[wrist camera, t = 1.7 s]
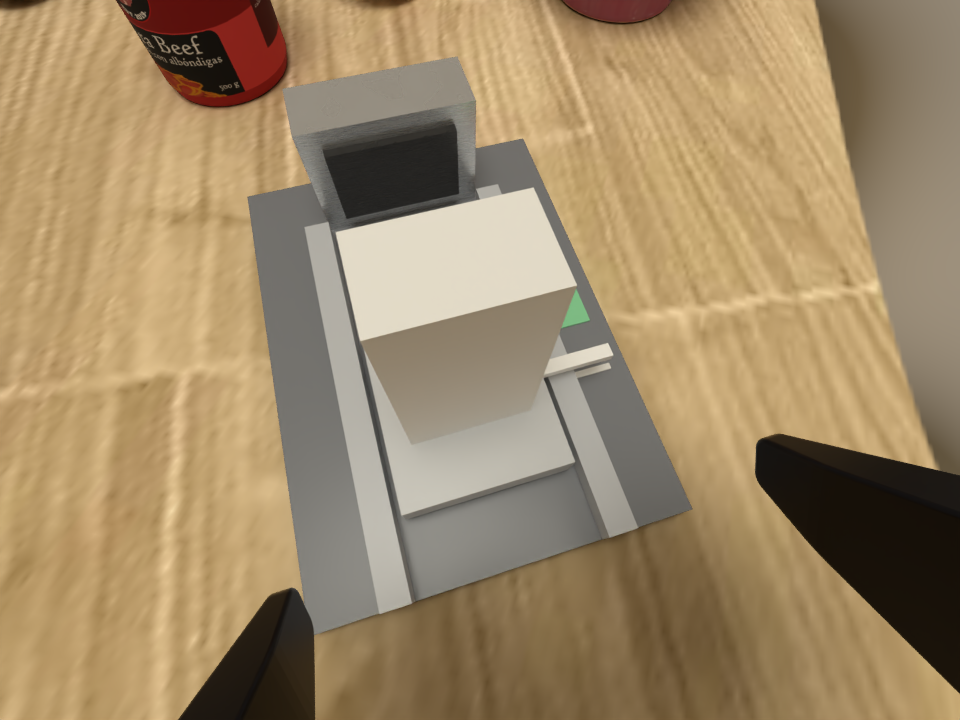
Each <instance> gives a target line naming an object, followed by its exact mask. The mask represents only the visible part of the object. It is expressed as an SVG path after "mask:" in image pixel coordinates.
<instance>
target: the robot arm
mask: <svg viewBox="0 0 960 720" xmlns="http://www.w3.org/2000/svg"><path fill="white" fill-rule="evenodd" d="M755 475H756V478H757V481H758V483H759V484H760V486H761V487H762V488H763V490H764V491H765V492H766V493H767V494H768V495H769V497H770V498H771V499H772V500H773V501H774V503H775V504H776V505H777V506H778V507H779V508H780V510H781V511H782V512H783V513H784V514H785V516H786V517H787V518H788V519H789V520H790V521H791V523H792V524H793V525H794V526H795V527H796V529H797V530H798V531H799V532H800V533H801V534H802V536H803V537H804V538H805V539H806V540H807V541H808V543H809V544H810V545H811V546H812V547H813V548H814V549H815V550H816V551H817V552H818V554H819V555H820V556H821V557H822V558H823V559H824V560H825V561H826V562H827V563H828V564H829V565H830V566H831V567H832V568H833V569H834V570H835V571H836V572H837V573H838V574H839V575H840V576H841V577H842V578H843V579H844V580H845V581H846V582H847V583H848V584H849V585H850V586H851V587H852V588H853V589H854V590H855V591H857V592H858V593H859V594H860V595H861V596H862V597H863V598H864V599H865V600H866V601H867V602H868V603H869V604H870V605H871V606H872V607H873V608H874V609H875V610H876V611H877V612H878V613H879V614H880V615H881V616H882V617H883V618H884V619H885V620H886V621H887V622H888V623H889V624H890V625H891V626H892V627H893V628H894V629H895V630H896V631H897V632H898V633H899V634H900V635H901V636H902V637H903V638H904V639H905V640H906V641H907V642H908V643H909V644H910V645H911V646H912V647H913V648H914V649H915V650H916V651H917V652H918V653H919V654H920V655H921V656H922V657H923V658H924V659H925V660H926V661H927V662H928V663H929V664H930V665H931V666H932V667H933V668H934V669H935V670H936V671H937V672H938V673H939V674H940V675H941V676H942V677H943V678H944V679H945V680H946V681H947V682H948V683H949V684H950V685H951V686H952V687H953V688H954V689H955V690H956V691H957V692H958V693H959V694H960V475H956V474H951V473H947V472H942V471H938V470H934V469H930V468H925V467H921V466H917V465H913V464H908V463H904V462H900V461H895V460H891V459H887V458H883V457H878V456H874V455H870V454H865V453H861V452H857V451H852V450H848V449H844V448H840V447H835V446H831V445H827V444H822V443H818V442H814V441H810V440H805V439H801V438H797V437H792V436H788V435H784V434H774V435H771V436H768V437H764V438H762V439H760V440H758V442H757V444H756V463H755ZM178 720H315V665H314V628H313V623H312V620H311V617H310V615H309V613H308V611H307V609H306V607H305V605H304V603H303V601H302V599H301V596H300V594H299V592H298V591H297V590H296V589H295V588H289V589H286V590H282V591H279V592H276V593H273V594H271V595H270V596H269V597H268V598H267V599H266V600H265V602H264V603H263V605H262V606H261V607H260V609H259V610H258V611H257V613H256V614H255V615H254V617H253V618H252V620H251V621H250V622H249V624H248V625H247V626H246V628H245V629H244V630H243V632H242V633H241V635H240V636H239V637H238V639H237V640H236V641H235V643H234V644H233V645H232V647H231V648H230V650H229V651H228V652H227V654H226V655H225V656H224V658H223V659H222V660H221V662H220V663H219V665H218V666H217V667H216V669H215V670H214V671H213V673H212V674H211V675H210V677H209V678H208V680H207V681H206V682H205V684H204V685H203V686H202V688H201V689H200V690H199V692H198V693H197V695H196V696H195V697H194V699H193V700H192V701H191V703H190V704H189V705H188V707H187V708H186V710H185V711H184V712H183V714H182V715H181V716H180V718H179V719H178Z"/></svg>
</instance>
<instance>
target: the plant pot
mask: <svg viewBox="0 0 960 720" xmlns="http://www.w3.org/2000/svg"><path fill="white" fill-rule="evenodd" d="M563 1H564V2H565V3H566V4H567V5H568V6H569V7H571V8H572V9H574V10H575V11H577V12H579V13H581V14H583V15H586V16H588V17H591V18H594V19H598V20H602V21H608V22H620V23H625V22H637V21H641V20H645V19H648V18H651V17H653V16H656V15H657V14H659V13H661V12H662V11H663V10H664V9H665V8H666V7H667V6H668V5H669V4H670V2H671V0H563Z"/></svg>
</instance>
